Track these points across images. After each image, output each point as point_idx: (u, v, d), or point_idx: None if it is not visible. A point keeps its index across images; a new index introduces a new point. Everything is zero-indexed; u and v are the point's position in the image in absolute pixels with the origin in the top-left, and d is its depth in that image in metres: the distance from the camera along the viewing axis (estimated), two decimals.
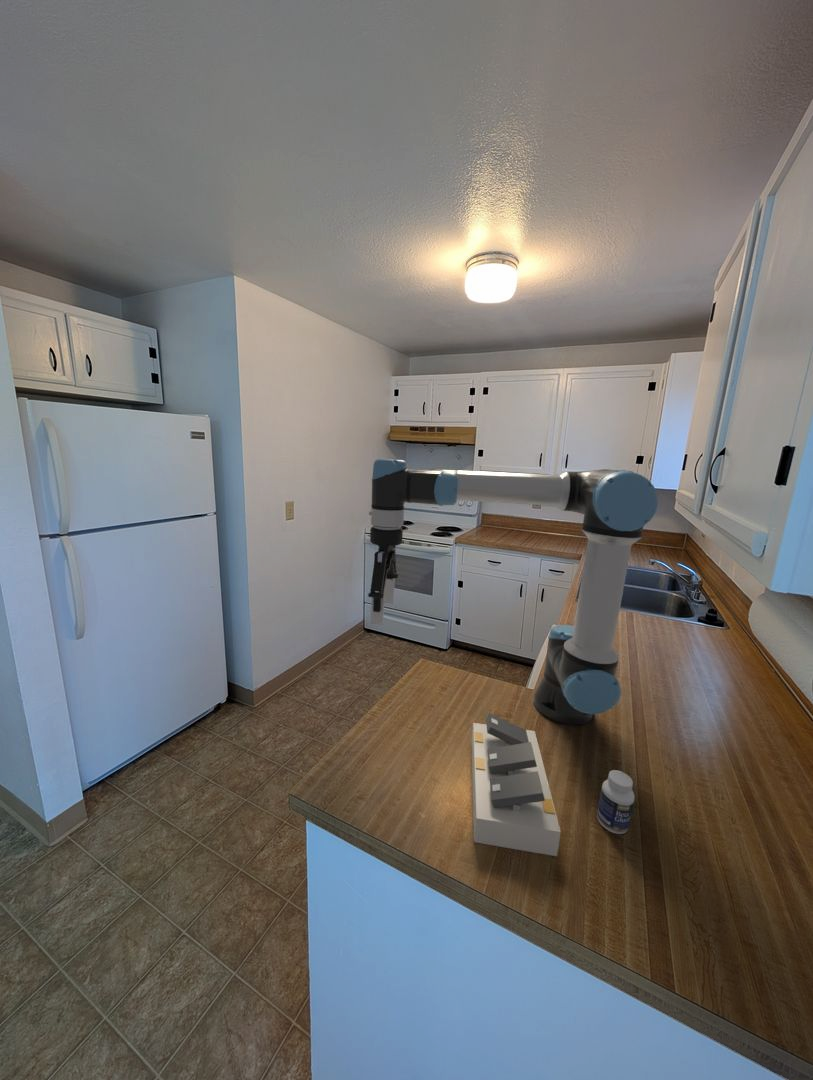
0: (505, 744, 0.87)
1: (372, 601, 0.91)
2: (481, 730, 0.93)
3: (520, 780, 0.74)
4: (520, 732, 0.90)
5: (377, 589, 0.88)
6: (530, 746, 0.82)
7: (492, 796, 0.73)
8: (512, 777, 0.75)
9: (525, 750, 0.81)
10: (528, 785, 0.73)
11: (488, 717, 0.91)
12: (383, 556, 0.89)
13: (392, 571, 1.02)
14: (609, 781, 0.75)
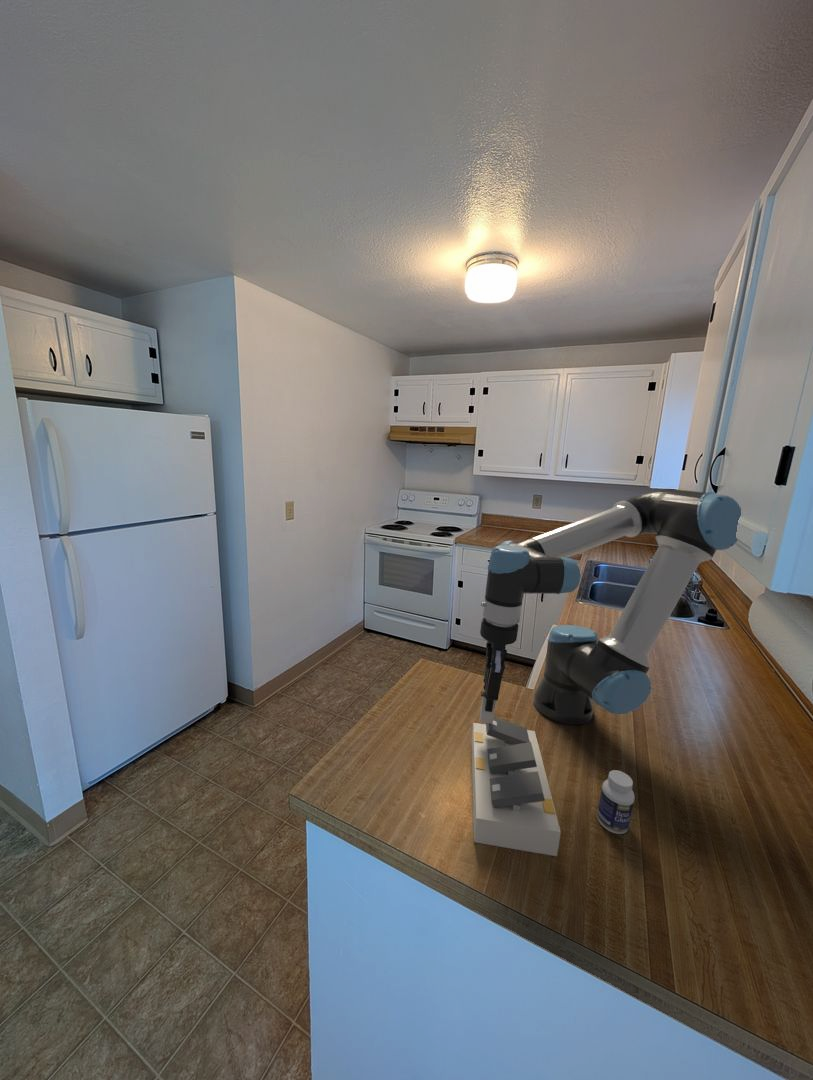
0: (505, 744, 0.87)
1: (483, 700, 0.88)
2: (481, 730, 0.93)
3: (520, 780, 0.74)
4: (521, 730, 0.89)
5: (493, 695, 0.84)
6: (530, 746, 0.82)
7: (492, 796, 0.73)
8: (512, 777, 0.75)
9: (525, 750, 0.81)
10: (528, 785, 0.73)
11: None
12: (501, 670, 0.80)
13: None
14: (609, 781, 0.75)
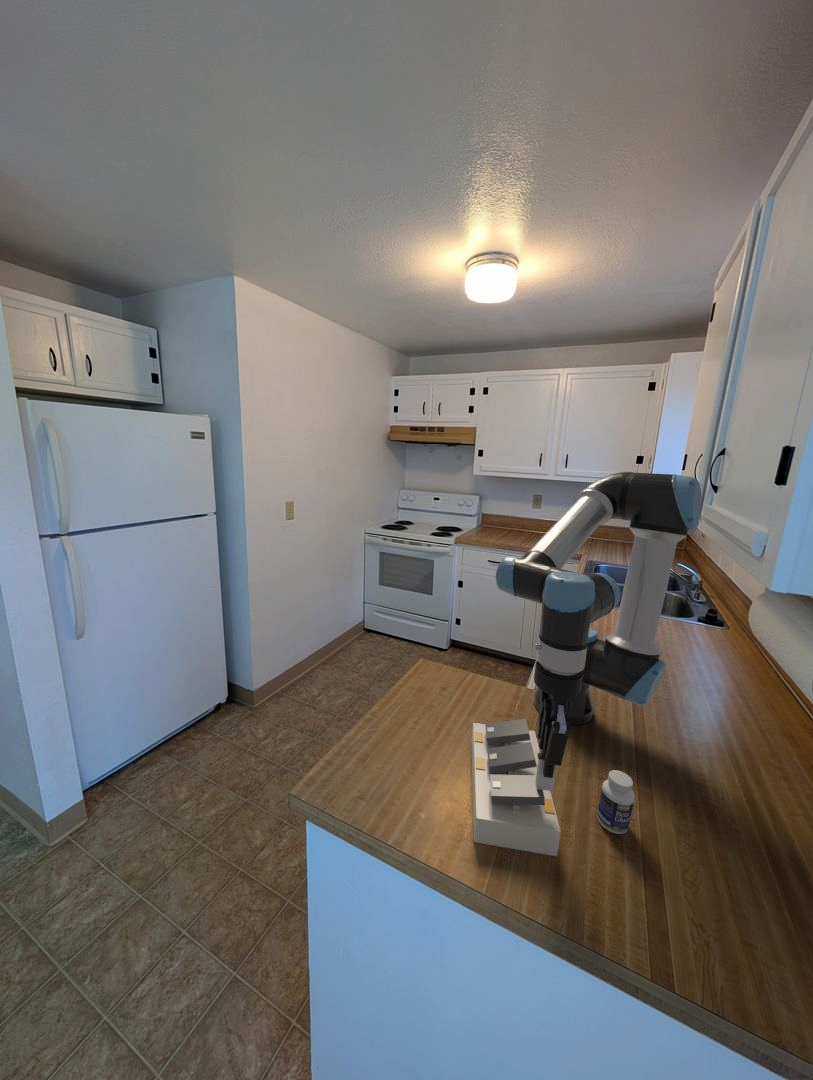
0: (505, 744, 0.87)
1: (541, 762, 0.71)
2: (481, 730, 0.93)
3: (521, 781, 0.74)
4: (519, 724, 0.89)
5: (556, 759, 0.67)
6: (530, 746, 0.82)
7: (492, 792, 0.72)
8: (513, 777, 0.75)
9: (525, 750, 0.81)
10: (529, 787, 0.73)
11: None
12: (567, 731, 0.63)
13: None
14: (609, 781, 0.75)
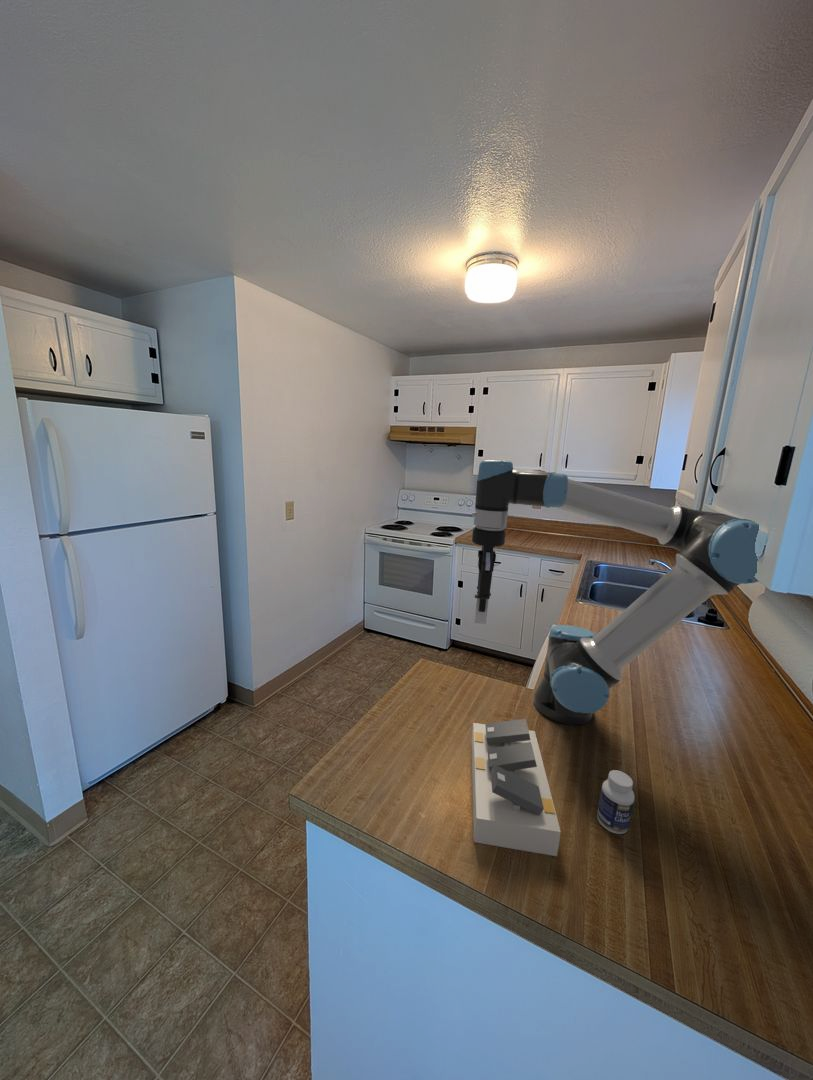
0: (505, 744, 0.87)
1: (477, 602, 0.98)
2: (481, 730, 0.93)
3: (523, 784, 0.74)
4: (519, 724, 0.89)
5: (485, 593, 0.94)
6: (530, 746, 0.82)
7: (497, 782, 0.72)
8: (515, 777, 0.75)
9: (525, 750, 0.81)
10: (530, 793, 0.73)
11: None
12: (491, 567, 0.90)
13: None
14: (609, 781, 0.75)
